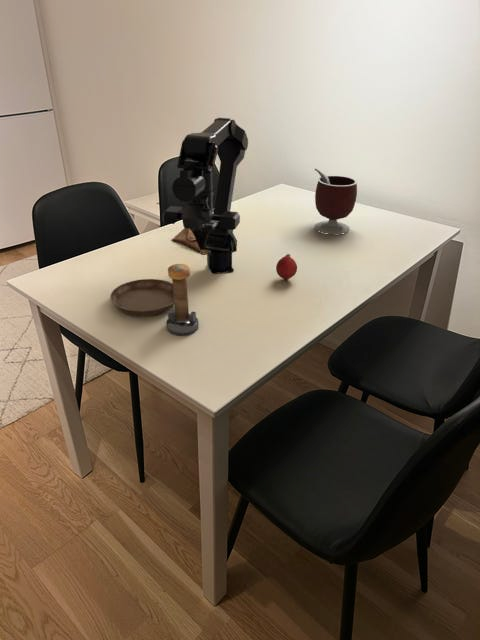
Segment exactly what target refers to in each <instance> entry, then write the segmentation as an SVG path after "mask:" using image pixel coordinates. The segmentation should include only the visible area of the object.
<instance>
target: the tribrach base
mask: <svg viewBox="0 0 480 640" xmlns="http://www.w3.org/2000/svg"><path fill="white" fill-rule="evenodd" d="M167 316H168V317H167V320H166V324H165V325H166V330H167V332H168V333H169V334H170V335H174V336H179V337H183V336H190V335H192V334H195V333H196V332H197V331H198V330H199V319H198V318H197V312H196V311H191V312H190V313H189V319H188V320H186V321H178V320H176V318H175V308H170V309H169V310H168V312H167Z"/></svg>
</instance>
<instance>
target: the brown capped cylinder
mask: <svg viewBox="0 0 480 640" xmlns="http://www.w3.org/2000/svg"><path fill="white" fill-rule="evenodd" d="M167 275H168V277H169V278H170V279H172V280H171V281H172V282H171V283H172V284H173V294H174V305H173V307H174V309H175V318H176V320H178V321H186V320H188V319H189V314H190V313H189V311H190V310H189V297H188V295H189V294H188V277H190V275H191V269H190V266H189V265H188V264H184V263H176V264H175V263H174V264H172V265H170V266H169V267H167Z"/></svg>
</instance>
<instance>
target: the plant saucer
mask: <svg viewBox="0 0 480 640" xmlns="http://www.w3.org/2000/svg"><path fill="white" fill-rule="evenodd" d="M110 301H111V303H112V304H113V306H115V307H116V309H118V310H119V311H121V312H122V313H124V314H126V315H129V316H135V317H153V316H156V315H157V316H158V315H161V314H163V313H166V312H167V311H170V309H172V307H174V294H173V282H170V281H167V280H163V279H156V278H147V279H146V278H144V279H135V280H131V281H128V282H125V283H122V284H120V285H119V286H117V287H115V288H114V289H113V290H112V292H111V293H110Z"/></svg>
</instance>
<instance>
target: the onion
mask: <svg viewBox="0 0 480 640" xmlns="http://www.w3.org/2000/svg"><path fill="white" fill-rule="evenodd" d="M275 269H276V274H277V275H278V276H279V278H282V279H283V280H285V281H288V280H290V279H291V278H292V277H294V276H295V275H296V273H297V271H298V264H297V262H296V261H295V259H293V258H292V257H291V254H290V253H286V254H285V256H283V257H282V258H280V259H278V261H277V263H276V266H275Z"/></svg>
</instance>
